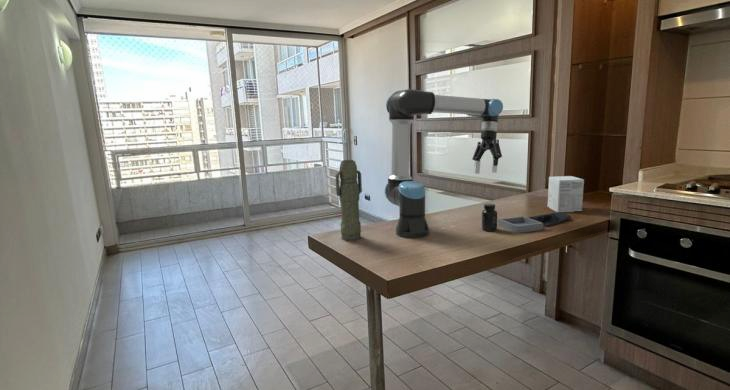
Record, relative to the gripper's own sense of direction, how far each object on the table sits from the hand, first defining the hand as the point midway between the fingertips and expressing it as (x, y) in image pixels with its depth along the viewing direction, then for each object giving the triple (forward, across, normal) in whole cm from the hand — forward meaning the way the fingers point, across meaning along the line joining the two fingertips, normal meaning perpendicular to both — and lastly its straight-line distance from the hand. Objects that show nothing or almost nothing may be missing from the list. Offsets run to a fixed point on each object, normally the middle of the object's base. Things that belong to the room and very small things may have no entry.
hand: (484, 173), depth 198 cm
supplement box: (+13, 0, -54) cm, 56 cm away
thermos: (+38, +3, +66) cm, 76 cm away
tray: (+25, -17, -10) cm, 32 cm away
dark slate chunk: (+21, -14, -30) cm, 39 cm away
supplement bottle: (+28, -14, +5) cm, 32 cm away
